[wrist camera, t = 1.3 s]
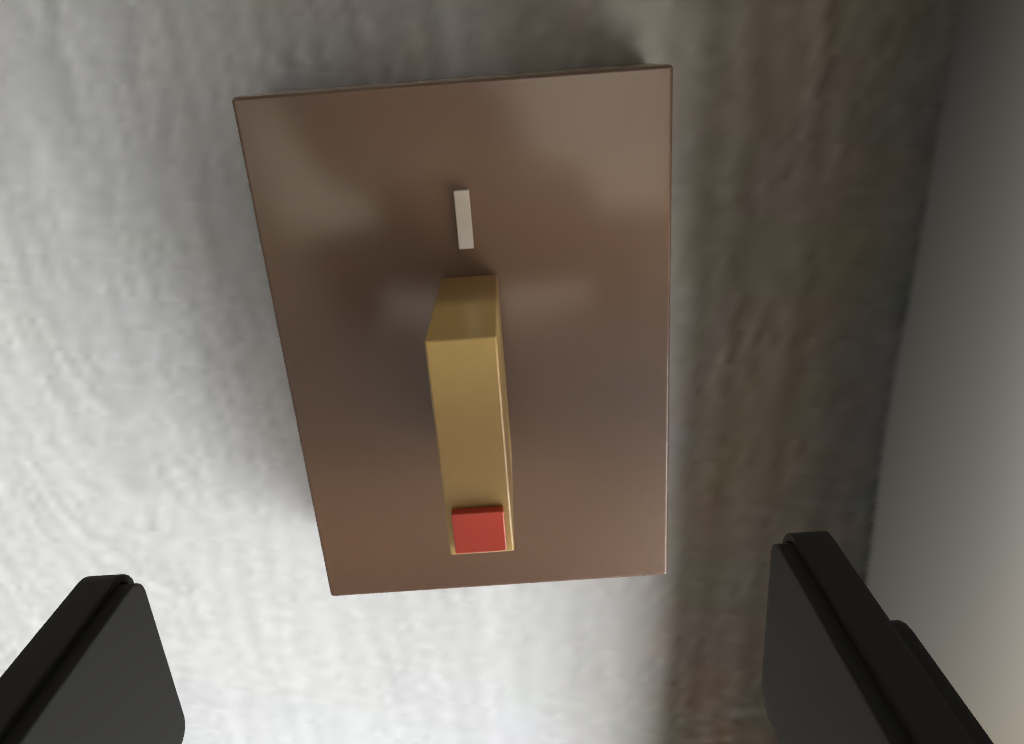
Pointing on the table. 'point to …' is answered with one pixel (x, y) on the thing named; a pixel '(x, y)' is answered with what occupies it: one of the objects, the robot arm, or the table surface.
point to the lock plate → (523, 306)
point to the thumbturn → (471, 414)
